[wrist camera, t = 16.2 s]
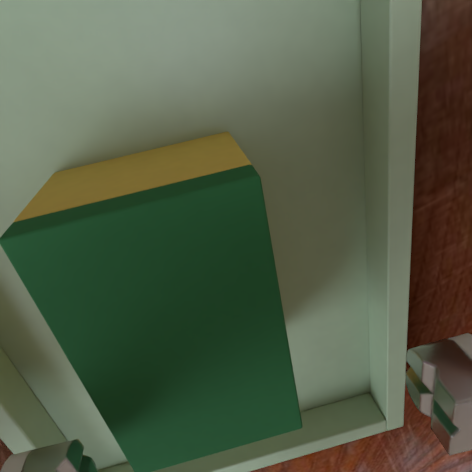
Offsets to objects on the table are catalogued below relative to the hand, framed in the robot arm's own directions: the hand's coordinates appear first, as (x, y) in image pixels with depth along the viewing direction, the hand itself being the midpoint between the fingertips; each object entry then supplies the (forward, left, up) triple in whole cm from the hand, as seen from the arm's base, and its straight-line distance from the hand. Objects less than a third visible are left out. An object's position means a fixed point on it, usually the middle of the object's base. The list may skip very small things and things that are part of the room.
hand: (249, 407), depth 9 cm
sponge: (+1, -2, -5) cm, 5 cm away
